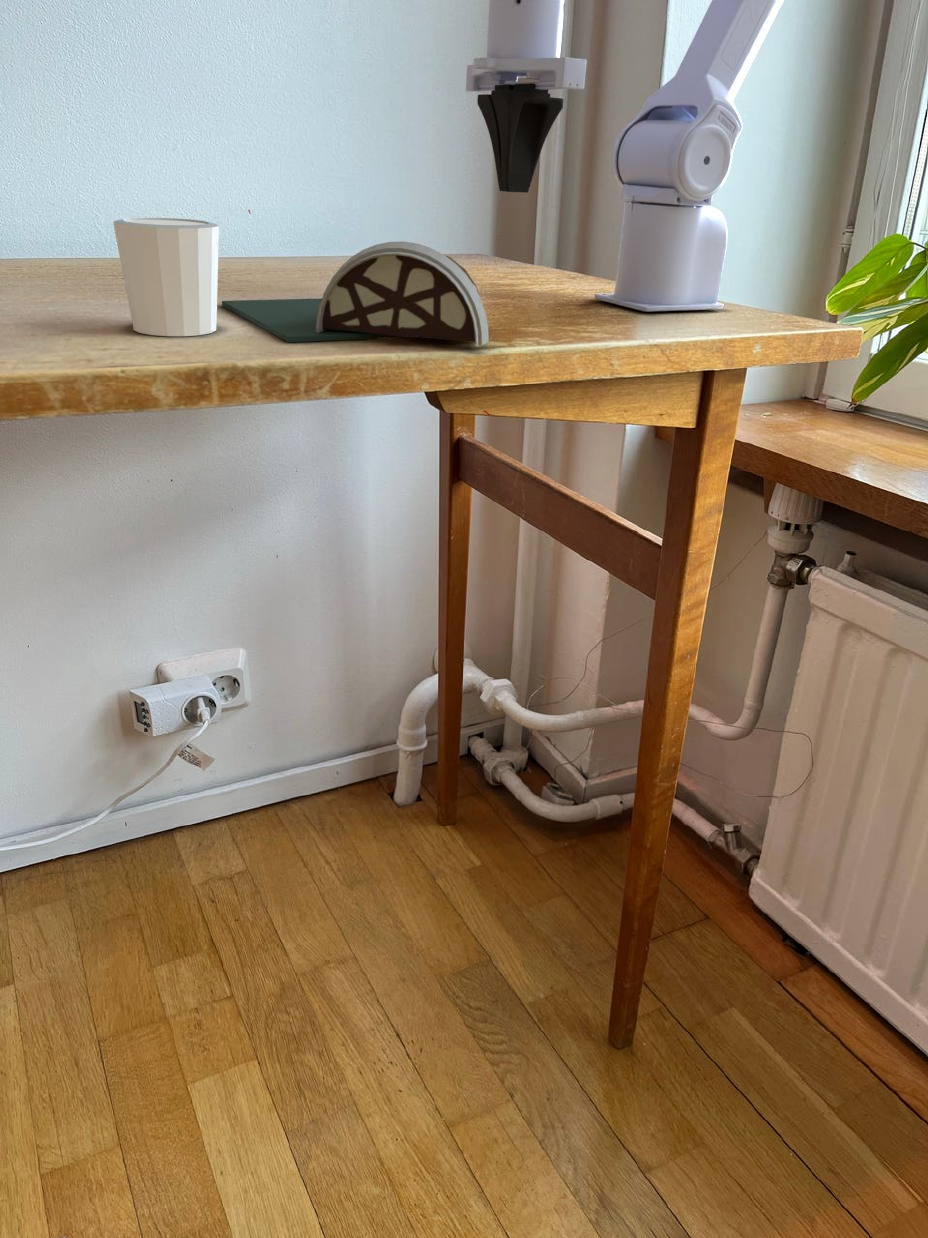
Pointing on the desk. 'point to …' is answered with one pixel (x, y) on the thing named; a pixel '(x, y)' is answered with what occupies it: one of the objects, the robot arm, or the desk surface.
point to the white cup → (170, 274)
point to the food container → (404, 295)
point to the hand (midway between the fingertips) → (514, 191)
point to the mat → (292, 319)
